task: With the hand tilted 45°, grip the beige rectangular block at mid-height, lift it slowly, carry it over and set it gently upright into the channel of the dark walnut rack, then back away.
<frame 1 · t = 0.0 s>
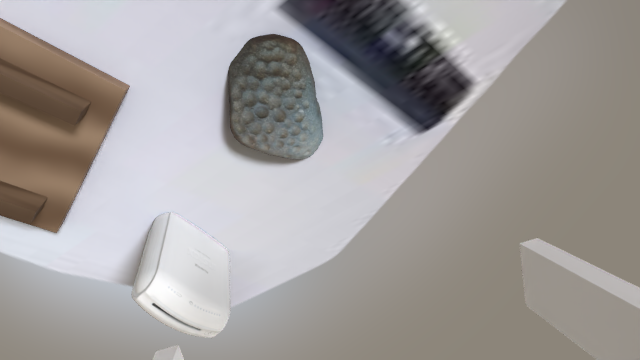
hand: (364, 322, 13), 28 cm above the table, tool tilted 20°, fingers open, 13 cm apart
white rounded slab: (192, 237, 43), on the table
fossil: (280, 102, 37), on the table
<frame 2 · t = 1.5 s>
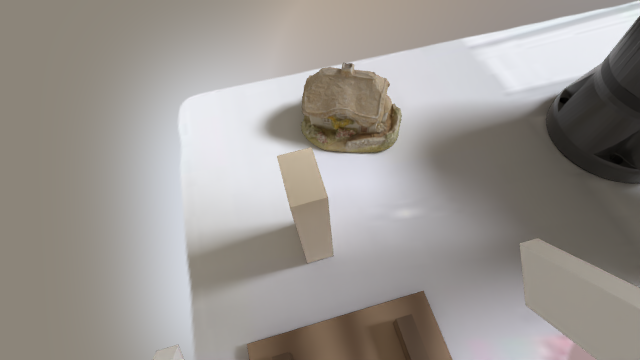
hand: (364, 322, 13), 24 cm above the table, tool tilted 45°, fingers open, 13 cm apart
beige rectangular block: (314, 239, 40), on the table
ceramic model: (348, 122, 49), on the table
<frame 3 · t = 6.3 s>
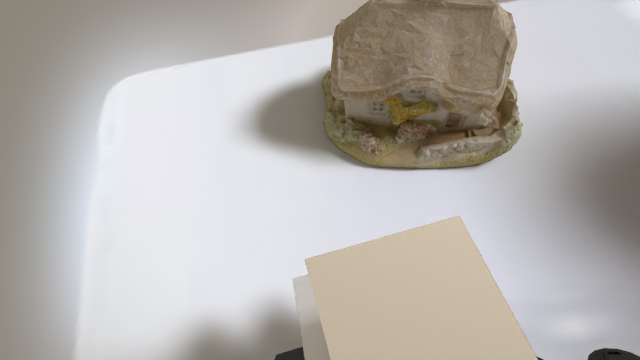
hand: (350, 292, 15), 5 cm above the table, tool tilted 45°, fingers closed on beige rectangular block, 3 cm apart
ceramic model: (408, 113, 27), on the table
when the fingers open (8 cm above the table, at t = 13.4 s): beige rectangular block drops 1 cm, resting on rack.
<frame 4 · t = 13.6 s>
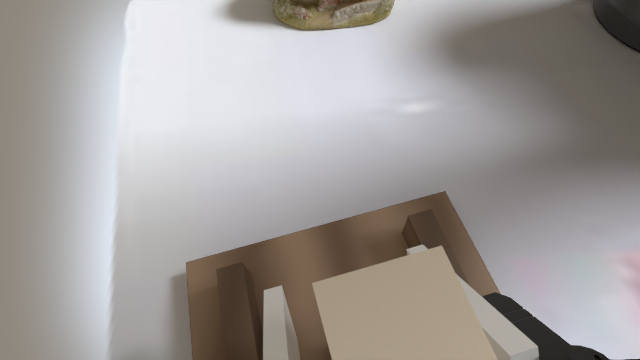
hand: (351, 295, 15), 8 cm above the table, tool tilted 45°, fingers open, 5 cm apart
ceramic model: (330, 2, 40), on the table
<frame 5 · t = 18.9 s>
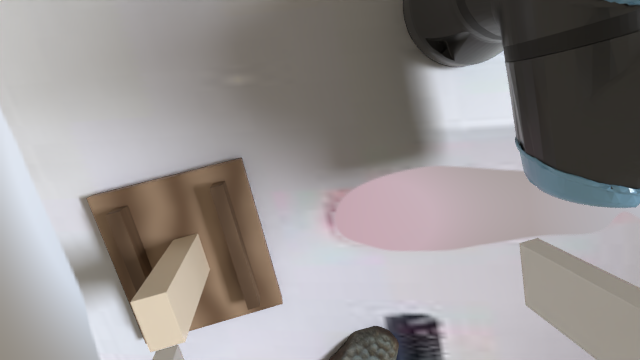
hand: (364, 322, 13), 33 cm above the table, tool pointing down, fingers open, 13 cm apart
beige rectangular block: (191, 254, 43), point 1 cm above the table, touching rack
rack: (194, 250, 45), on the table
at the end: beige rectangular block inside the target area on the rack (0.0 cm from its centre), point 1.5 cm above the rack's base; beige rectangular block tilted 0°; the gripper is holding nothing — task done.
